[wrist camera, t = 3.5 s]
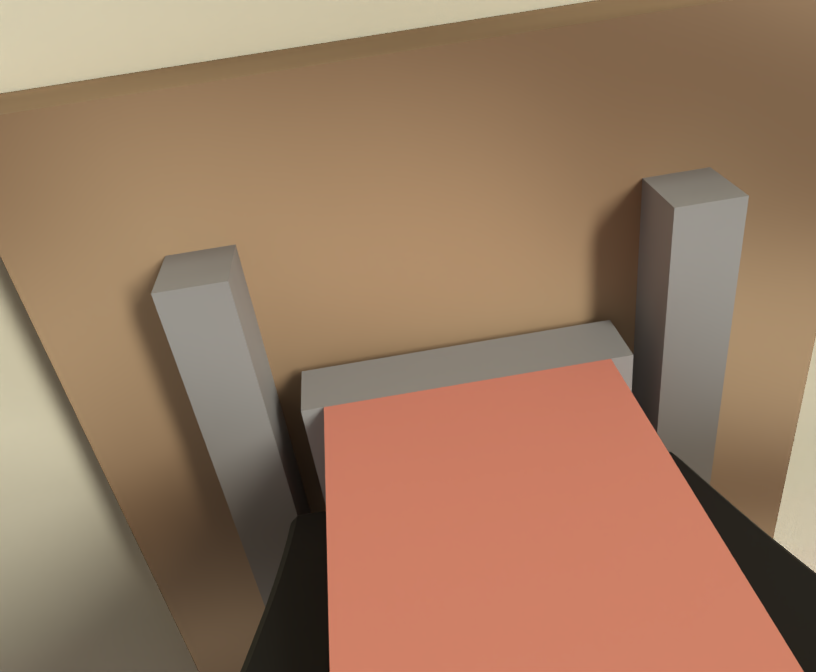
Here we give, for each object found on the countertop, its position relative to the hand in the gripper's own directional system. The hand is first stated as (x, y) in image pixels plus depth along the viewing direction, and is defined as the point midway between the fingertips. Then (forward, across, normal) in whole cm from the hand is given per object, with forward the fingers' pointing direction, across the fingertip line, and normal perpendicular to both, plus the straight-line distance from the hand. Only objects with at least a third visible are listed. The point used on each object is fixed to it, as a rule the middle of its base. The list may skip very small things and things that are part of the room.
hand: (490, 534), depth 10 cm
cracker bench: (+3, 0, +1) cm, 3 cm away
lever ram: (+2, 0, 0) cm, 2 cm away
